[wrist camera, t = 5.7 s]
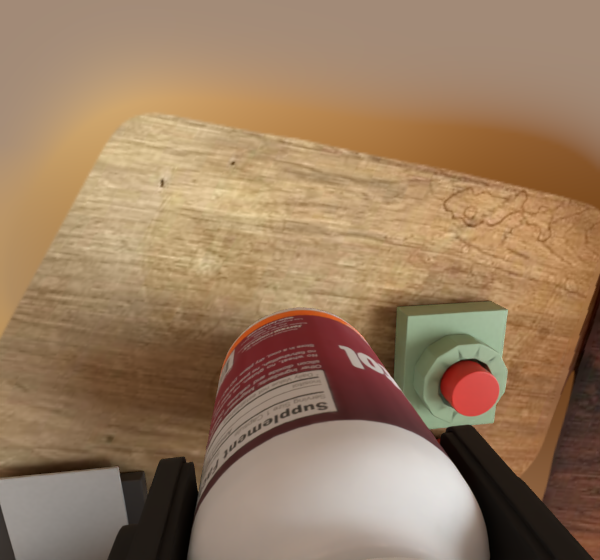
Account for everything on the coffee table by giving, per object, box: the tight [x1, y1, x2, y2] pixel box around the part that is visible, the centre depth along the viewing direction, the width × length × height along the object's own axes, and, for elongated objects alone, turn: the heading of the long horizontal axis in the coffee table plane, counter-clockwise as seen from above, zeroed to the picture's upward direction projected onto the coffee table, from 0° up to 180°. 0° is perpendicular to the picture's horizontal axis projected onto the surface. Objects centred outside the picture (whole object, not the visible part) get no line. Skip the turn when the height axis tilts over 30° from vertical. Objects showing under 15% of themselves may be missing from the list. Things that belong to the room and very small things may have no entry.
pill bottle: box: [187, 308, 490, 560], centre depth 10 cm, size 6×6×11 cm
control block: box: [394, 301, 508, 429], centre depth 29 cm, size 10×8×4 cm
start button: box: [440, 360, 500, 417], centre depth 27 cm, size 4×4×2 cm
